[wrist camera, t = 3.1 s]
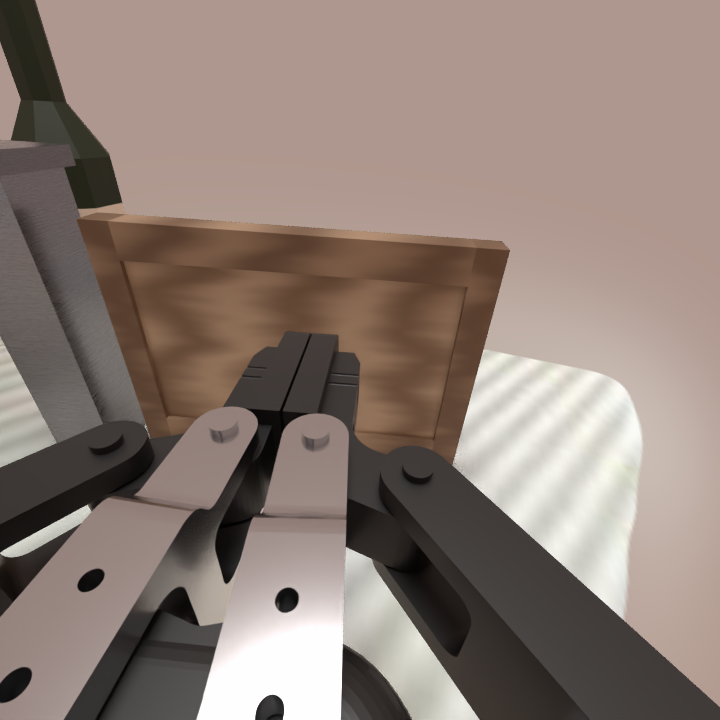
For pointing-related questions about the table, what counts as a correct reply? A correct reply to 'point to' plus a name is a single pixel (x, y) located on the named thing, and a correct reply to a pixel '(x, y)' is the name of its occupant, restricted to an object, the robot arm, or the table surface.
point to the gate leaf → (298, 315)
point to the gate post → (56, 297)
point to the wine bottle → (53, 109)
